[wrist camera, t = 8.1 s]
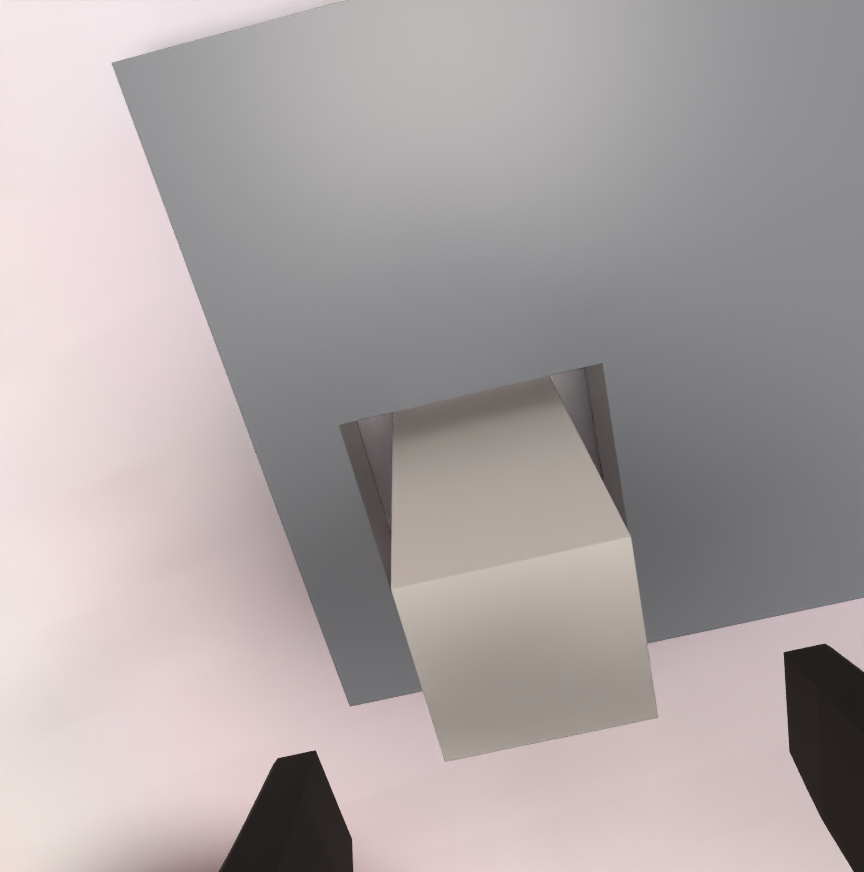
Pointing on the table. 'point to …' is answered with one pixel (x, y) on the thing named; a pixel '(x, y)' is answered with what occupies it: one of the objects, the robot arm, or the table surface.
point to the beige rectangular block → (513, 574)
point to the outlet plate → (539, 272)
